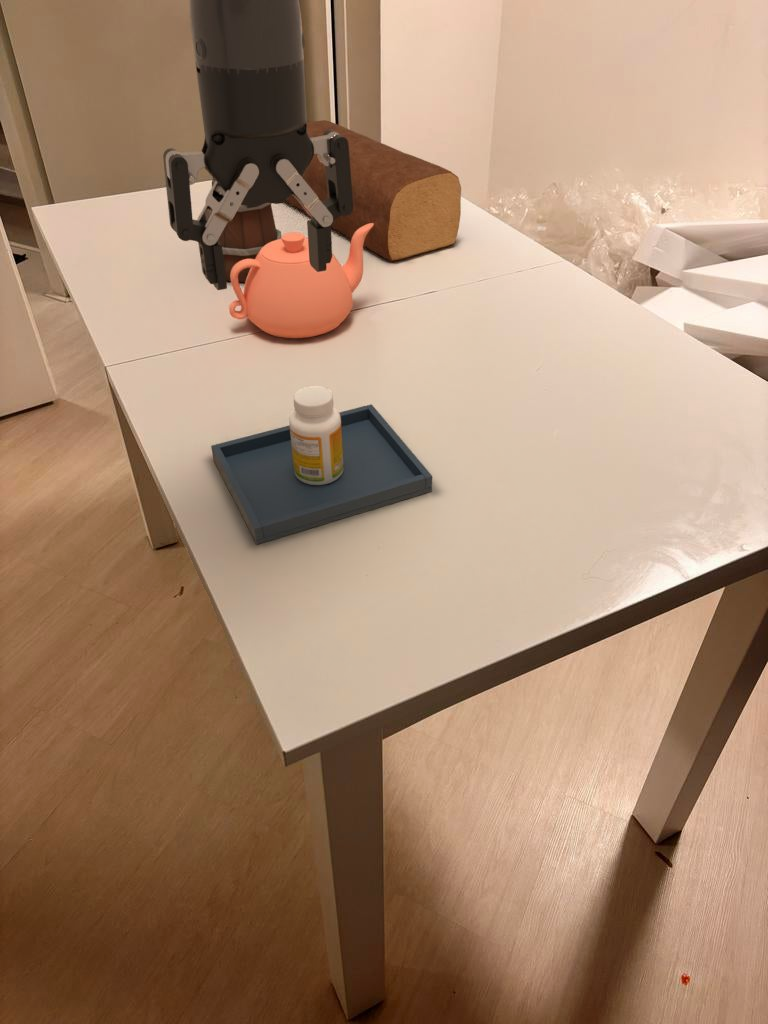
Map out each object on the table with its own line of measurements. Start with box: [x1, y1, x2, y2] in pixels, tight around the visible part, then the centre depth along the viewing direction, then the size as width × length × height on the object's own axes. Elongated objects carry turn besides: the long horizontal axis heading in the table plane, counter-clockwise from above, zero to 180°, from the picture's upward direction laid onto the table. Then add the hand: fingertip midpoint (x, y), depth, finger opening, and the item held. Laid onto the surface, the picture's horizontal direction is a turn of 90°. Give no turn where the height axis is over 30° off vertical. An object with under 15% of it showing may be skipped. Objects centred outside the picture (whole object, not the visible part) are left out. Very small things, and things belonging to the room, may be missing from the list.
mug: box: [211, 177, 282, 283], centre depth 128 cm, size 16×12×15 cm
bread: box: [286, 119, 462, 262], centre depth 142 cm, size 16×39×13 cm, turn 34°
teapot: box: [228, 223, 374, 339], centre depth 113 cm, size 22×16×12 cm
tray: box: [210, 403, 433, 545], centre depth 87 cm, size 20×16×2 cm
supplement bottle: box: [288, 385, 343, 485], centre depth 85 cm, size 5×5×10 cm
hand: (269, 277), depth 66 cm, fingers open, 8 cm apart
